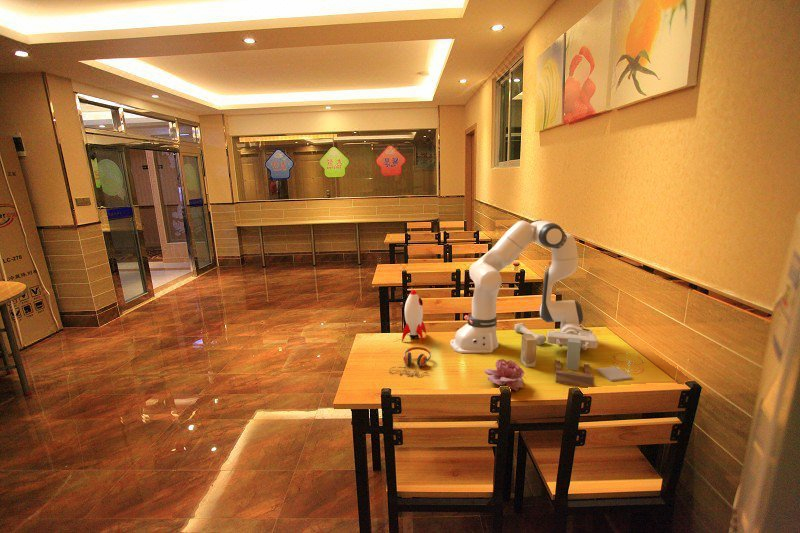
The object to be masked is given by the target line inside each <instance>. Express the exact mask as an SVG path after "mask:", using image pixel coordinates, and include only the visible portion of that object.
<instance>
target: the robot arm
mask: <svg viewBox="0 0 800 533" xmlns="http://www.w3.org/2000/svg"><path fill="white" fill-rule="evenodd" d="M533 242H534V243H536V244H538V246H539V245H540V246H542V247H545V248H550V250H551V263H550V266H549V267H548V268H547V269H546V270H545V272H544V278H543V286H542V297H541V304H540V307H539V316H540V319H541V320H542V321H544V322H545V323H555V322H560V326H559V330H560V331H557V330H550V331H548V332H547V333H546V342H547V343H548V344H551V345H553V344H554V345H557V346H558V347H559V348H563V346H568V338H578V339H580V342H581V346H580V348H582V350H583V351H586V350H587V349H597V348H598V341H599V340H598V339H597V336H596V335H595V334H594V333H593V329H588V328H585V327H581V325H582V323H583V321H584V314H583V309H582V304H581V303H579V302H578V301H577V300H574V299H573V300H572V299H571V300H570V299H569V300H568V299H567V300H552V290H553V286H554V285H555V283H557V282H559V281H560V280H563V279H565V278H567V277H570V276H571V275H573V274H574V273H575V272H576V271H577V269H578V267H579V255H578V254H579V253H578V247H577V246H578V245H577V241H576V239H575V237H574V235H573V234H571V233H568V232H565V231H564V230H563V228H562V227H561V226H560V225H559V224H557V223H554V222H552V221H550V220H545V219H536V220H533V221H531V222H528V221H525V220H519V221H516V223H514V224H513V225H512V226H511V227H510V228H509V229H508V230H506V232H505V233H504V234H503V235H502V236H501V237H500V239H498V241H497V242H496V243H495V244H494V245H493V246H492V247H491V249H490V250H488V251H486V253H484V255H482V256H481V257H480V258H479V259H478V260H476V261H473V263H472V264H471V265H470V266H469V270H468V272H469V277H470V279H471V280H472V281H473V282H474V283H473V284H474V291H473V296H472V298H471V315H470V316H469V315H467V314H465V315H464V317H463V318H464V319H465V321H467V323H466V324H464V325H463V326H462V327H460V328H459V329H457V330H456V332H455V335H454V336H455V337H454V339H453V338H452V339H451V340H450V342H449V344H450V345H449V346H450V347H451V348H452V350H454V351H455V352H457V353H460V354H477V353H479V354H480V353H481V354H482V353H485V354H486V353H487V354H488V353H493V352H494V350H496V349H497V348H498V347H499V345H500V344H499V342H498V336H497V335H498V334H497V326H498V322H497V321H498V320H497V319H498V317H497V299H498V296H499V295H498V294H499V290H500V287H501V285H502V284H503V283H502V282H503V280H502V276H501V274H500V273H501V271H502V270H504V269H505V268H506V267H508V266H510V265H512V264H513V262H514V261H515V260H516V259H517V258H518V257H519V256H520V255H521V253H522V252H524V250H525V249H526V248H527V246H528V245H530V244H531V243H533Z"/></svg>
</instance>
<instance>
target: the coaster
mask: <svg viewBox="0 0 800 533" xmlns="http://www.w3.org/2000/svg"><path fill="white" fill-rule="evenodd" d="M595 371H596V372H597V373H598V374H600V375H601V376H603V377H604V378H605V379H607V380H608V381H610V382H616V381H624V380H632V379H633V376H632V375H630V374H629V373H627V372H625V371H624V370H622V369H621V368H619V367H618V366H608V367H607V366H606V367H599V368H595Z"/></svg>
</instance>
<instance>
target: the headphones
mask: <svg viewBox="0 0 800 533" xmlns="http://www.w3.org/2000/svg"><path fill="white" fill-rule="evenodd" d="M415 350H416V351H417V350H420V351H425V352H426V353H428V354H429V355H428V357H427V356H426V355H425V354H424V353H420V354H419V355H418V357H417V360H416V365H415V366H413V367H411V369H414V368H417V367H426V365H427V363H428V361H429V360H431V357H432V350H430V349H429V348H428V347H426V346H421V345H415V346H409V347H407V349H406V350H404V354H403V363H404V364H405V365H406V366H404V367H403V366H398V368H399V369H403V370H401V371H400V370H397V371H396V372H395V371H394V372H391V369H394V368H395V366H392V367H390V369H389V371H388V372H389V373H390V374H391V373H392V375H394V374H396V373H397V372H399V375H401V376H402V375H403V374H404V372H405V375H407V377H408V378H409V377H410V378H413V376H415V377H416V376H417V378H421V377H422V376H423V375H424V374H427V375H429V374H430V372H422V373H421V375H420V376H419V373H420V372H419V371H417V369H415V370H414V371H413V373H412V372H410V370H407V368H409V367H408V366H411V365H412V364H413V363H412V361H413V360H412V358H413V357H412V356H413V355H412V353H411V351H415ZM393 373H394V374H393Z"/></svg>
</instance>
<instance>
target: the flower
mask: <svg viewBox="0 0 800 533" xmlns="http://www.w3.org/2000/svg"><path fill="white" fill-rule="evenodd" d="M494 366H495V368H496V369H491V368H486V369H484V374H485V375H488V376H487V378H486V379H487V380H488V381H489V382H491V383H492V384H494V385H499V386H503V387H505V386H508V387H510V388H509V389H511V390H514V392H515V391H516V392H517V391H519V388H520V389H521V388H522V389H524V381H525V380H524V379H523V376H524V375H525V374H526V373H525V371H524V370H523V369H522V367H520V365H519V364H518V363H517V362H516V361H513V360H512V359H509V360H506V359H504V358H502V359H501V358H500V359H497V360H496V361H495V364H494ZM508 387H507V388H508Z"/></svg>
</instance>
